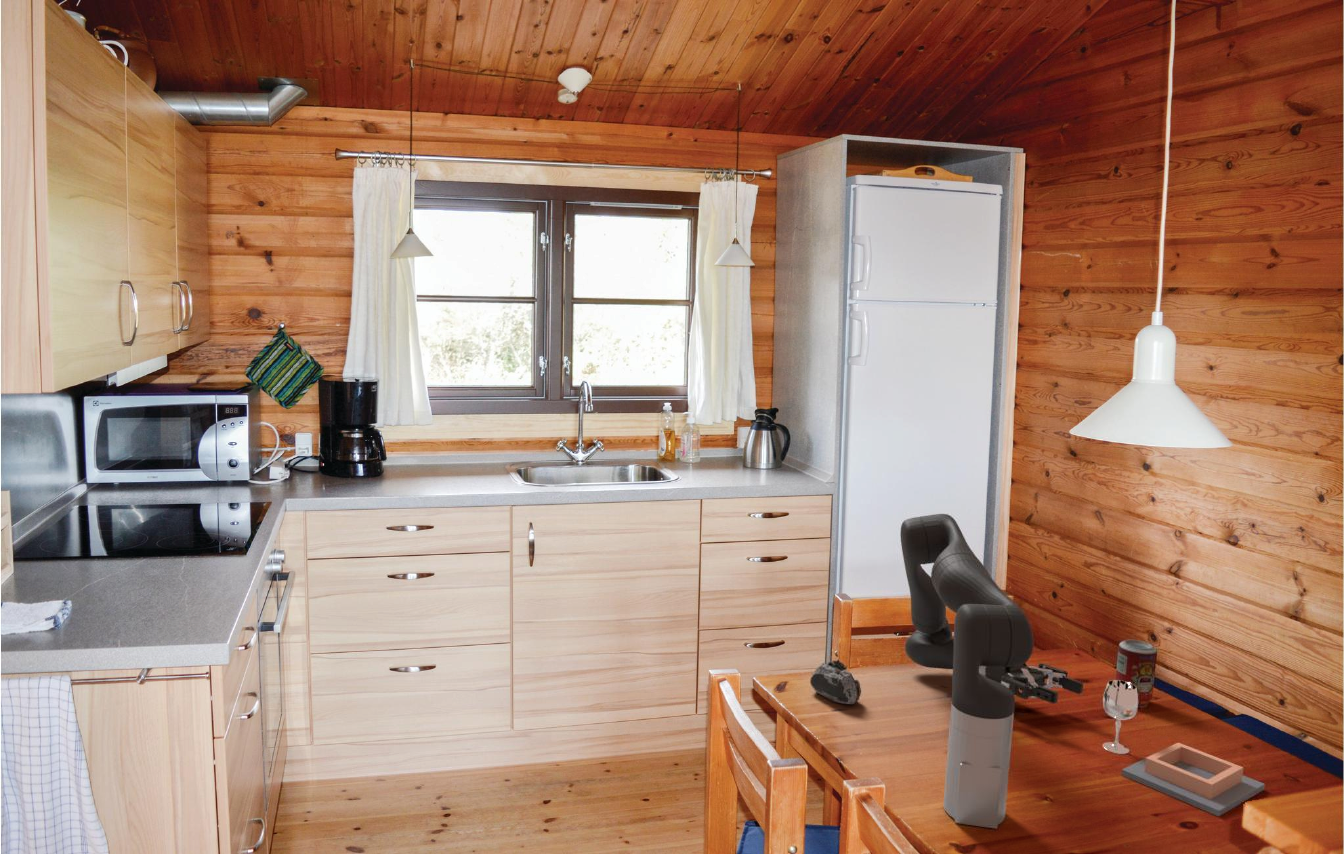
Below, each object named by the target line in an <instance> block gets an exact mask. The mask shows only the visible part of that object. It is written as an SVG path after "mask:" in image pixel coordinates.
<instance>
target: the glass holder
mask: <svg viewBox="0 0 1344 854" xmlns="http://www.w3.org/2000/svg"><path fill="white" fill-rule="evenodd" d="M1243 774H1244V767H1243V766H1240V765H1238V764H1236V763H1233V762H1230V761H1228V760H1225V759H1222V758H1220V757H1217V756H1214V755H1211V754H1209V753H1206V752H1204V751H1201V750H1200V749H1196V748H1193V747H1191V746H1189V745H1186V744H1183V743H1180V742H1176V743H1174V744H1173V745H1170V746H1167V747H1166V748H1164V749H1161V750H1159V751H1157V752H1155V753H1152V754H1151V755H1149V756H1147V757H1145V758H1143V759H1141V760H1139V761H1136V762H1134V763H1133V764H1130V765H1128V766H1127V767H1124V768H1122V769H1121V776H1122V777H1125V778H1128V779H1130V780H1132V781H1134V782H1138V784H1142V785H1144V786H1147V787H1148V788H1151V789H1154V790H1156V791H1158V792H1160V793H1163V794H1164V795H1167V796H1170V797H1172V798H1175V799H1176V800H1179V801H1181V802H1183V803H1186V804H1188V805H1190V806H1193V807H1195V808H1198V809H1199V810H1202V811H1205V812H1207V813H1209V814H1211V815H1213V816H1217V817H1221V816H1222V815H1224V814H1225V813H1227V812H1229V811H1230V810H1233V809H1234V808H1235V807H1237V806H1239V805H1241V804H1242V803H1244V802H1246V801H1247V800H1249V799H1251V798H1252V797H1254V796H1256V795H1257V794H1260V793H1261V792H1262V791H1264V790H1265V788H1266V787H1265V786H1266V784H1265V783H1264V782H1260V781H1259V780H1256V779H1253V778H1250V777H1248V776H1246V775H1243ZM1241 802H1242V803H1241Z"/></svg>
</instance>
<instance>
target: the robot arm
mask: <svg viewBox="0 0 1344 854" xmlns="http://www.w3.org/2000/svg"><path fill="white" fill-rule="evenodd" d="M900 543H901V544H900V545H901V551H902V558H903V564H904V568H905V575H906V579H907V583H908V588H909V594H910V596H909V597H910V619H911V622H912V625H913V627H914V628H915V629H916V630H915V631H914V632H913V633H912V634H910V636H909V637H908V638H907V639H906V641H905V644H904V650H905V653H906V655H907V657H908V658H909V659H910V660H911V661H912V662H914V664H917V665H919V666H921V667H925V668H930V669H941V670H942V669H943V670H952V677H951V678H952V679H951V680H952V681H951V682H952V683H951V686H952V688H951V702H950V703H951V704H950V717H949V728H948V730H949V731H948V741H947V742H948V743H947V755H946V756H947V757H946V765H945V768H946V769H945V778H944V779H945V780H944V781H945V782H944V794H943V795H944V796H943V809H944V811H945V812H946V813H947V814H948V816H950V817H951V818H953V819H954V822H955V823H956V824H961V825H968V826H969V825H970V826H973V827H974V826H975V827H982V828H990V829H998V825H1000V824H1001V823H1002V822H1004V820H1005V817H1006V810H1007V809H1006V807H1007V798H1008V785H1009V783H1008V782H1009V773H1010V772H1009V771H1010V761H1011V750H1012V749H1011V747H1012V737H1013V736H1012V735H1013V728H1014V727H1013V726H1014V718H1015V717H1014V715H1015V714H1014V713H1015V704H1016V699H1015V696H1016V697H1019V698H1020V699H1023V700H1029V697H1030V698H1032V699H1037V698H1038V699H1040V700H1043V701H1045V702H1047V703H1050V704H1052V705H1053V704H1057V703H1058V699H1059V692H1058V691H1056V690H1053V689H1052V688H1053V687H1055V688H1062V689H1064V690H1067V691H1069V692H1071V693H1075V694H1078V695H1080V694H1082V693H1083V689H1084V682H1082V681H1079V680H1076V679H1073V678H1071V677H1068V674H1069V672H1068V671H1067V670H1064V669H1061V668H1058V667H1054V666H1051V665H1048V664H1045V663H1041V662H1040V663H1038V667H1037V666H1034V665H1027V664H1026V663H1027V662H1028V661H1029V659H1030V658H1031V656H1032V653H1033V651H1034V634H1033V629H1032V626H1031V624H1030V621H1029V619H1028V617H1027V615H1026V614H1025V612H1024V611H1023V609H1022V608H1021V607H1020V606H1019V604H1017V603H1016V602H1015V601H1014V600H1013V599H1012V598H1010V596H1008V595H1007V594H1006V593H1005V592H1004V591H1003V590H1002V589H1001V588H1000V587H999V586H998V584H997V583H996V582H995V581H994V580H993V577H992V576H991V575H990V573H989V572H988V569H987V568H986V567H985V566H984V564H983V563H982V562H981V561H980V559H979V558H978V557H977V555H976V554H975V553H974V551H973V550H972V549H971V548H970V546H969V544H968V543H967V541H966V539H965V536H964V534H963V532H962V530H961V528H960V526H959V524H958V523H957V521H956V519H955V518H954V517H953V516H952V515H949V514H948V513H935V514H928V515H922V516H916V517H911V518H907V519H904V520H903V521H902V523H901V526H900ZM928 564H929V565H930V564H932V567H931V573H930V574H928V572H926V571H925V570H924V568H923V567H922V565H928ZM947 608H948V609H949V610H950V611H952V612H954V613H956V615H955V619H954V624H953V627H954V628H953V631H952V629H951V626H950V624H949V621H948V619H947ZM1046 680H1047V681H1046Z"/></svg>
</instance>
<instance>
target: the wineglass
mask: <svg viewBox="0 0 1344 854" xmlns="http://www.w3.org/2000/svg"><path fill="white" fill-rule="evenodd" d="M1102 707H1103V710H1104V711H1105V713H1106V714H1107V715H1108V716H1109V717H1111V718H1113V719H1116V720H1115V723H1114V727H1115V738H1114V741H1113V742H1111V741H1108V742H1104V743H1103V744H1102V748H1103V749H1104V750H1105V751H1108V752H1110V753H1113V754H1117V755H1118V754H1119V755H1126V754H1128V753H1130V748H1129V747H1127V746H1126V745H1124V744H1122V743H1119V735H1120V734H1119V733H1120V729H1121V727H1122V721H1127V720H1130V719H1133V718H1134V717H1135V716H1136V714H1137V712H1138V710H1139V709H1138V694H1137V688H1136V686H1135V685H1134V684H1132V683H1129V682H1126V681H1121V680H1115V679H1111V680H1109V681H1107V684H1106V686H1105V690H1104V692H1103V698H1102Z"/></svg>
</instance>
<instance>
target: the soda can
mask: <svg viewBox="0 0 1344 854" xmlns="http://www.w3.org/2000/svg"><path fill="white" fill-rule="evenodd" d="M1157 656H1158V650H1157V648H1156V647H1155V646H1153V644H1151V643H1148V642H1146V641H1144V640H1143V641H1142V640H1138V639H1132V638H1131V639H1125V640H1122V641H1120V643H1119V644H1118V651H1117V661H1116V670H1115V679H1114V680H1121V681H1126V682H1129V683H1132V684H1134V685H1135V686H1136V688H1137V694H1138V707H1140V708H1141V709H1143V708H1146V707H1147V706H1148V704H1149V702H1150V701H1151V700H1153V696H1154V695H1153V694H1154V683H1155V675H1156V667H1157V666H1156V665H1157ZM1140 708H1139V709H1140Z"/></svg>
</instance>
